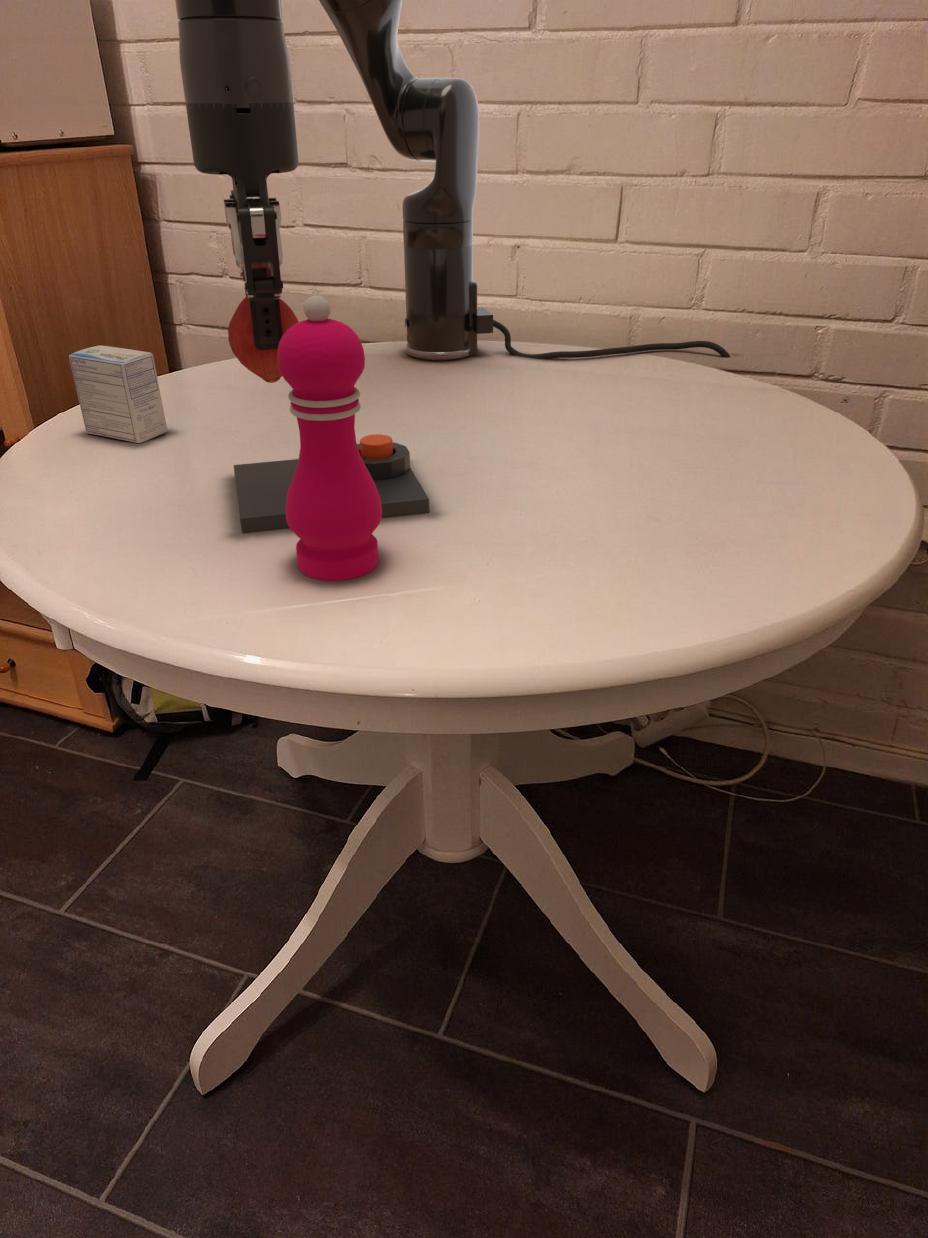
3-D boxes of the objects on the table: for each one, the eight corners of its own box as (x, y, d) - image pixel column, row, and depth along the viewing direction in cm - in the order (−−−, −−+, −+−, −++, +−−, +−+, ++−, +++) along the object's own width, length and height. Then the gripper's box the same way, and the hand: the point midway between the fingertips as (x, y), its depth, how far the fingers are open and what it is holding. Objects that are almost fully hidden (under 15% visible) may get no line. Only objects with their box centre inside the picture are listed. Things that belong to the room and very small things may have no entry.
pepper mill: (301, 542, 74) (273, 285, 64) (389, 543, 74) (376, 285, 64) (283, 584, 68) (249, 306, 58) (379, 585, 68) (362, 306, 57)
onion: (220, 386, 74) (205, 283, 70) (265, 369, 78) (253, 271, 74) (277, 396, 71) (265, 289, 67) (320, 377, 76) (311, 276, 72)
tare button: (389, 448, 86) (389, 432, 85) (395, 459, 83) (395, 443, 82) (358, 451, 85) (357, 435, 84) (363, 462, 83) (362, 446, 82)
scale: (400, 462, 90) (399, 433, 88) (429, 513, 79) (428, 481, 77) (235, 478, 86) (231, 448, 85) (242, 534, 75) (237, 500, 74)
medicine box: (169, 433, 98) (155, 351, 94) (138, 445, 95) (122, 361, 90) (116, 422, 101) (100, 343, 97) (84, 434, 98) (66, 352, 94)
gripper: (185, 97, 70) (216, 322, 78) (184, 98, 58) (221, 364, 66) (283, 96, 71) (304, 317, 80) (303, 97, 59) (324, 357, 68)
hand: (266, 337), depth 73 cm, fingers closed on onion, 6 cm apart
